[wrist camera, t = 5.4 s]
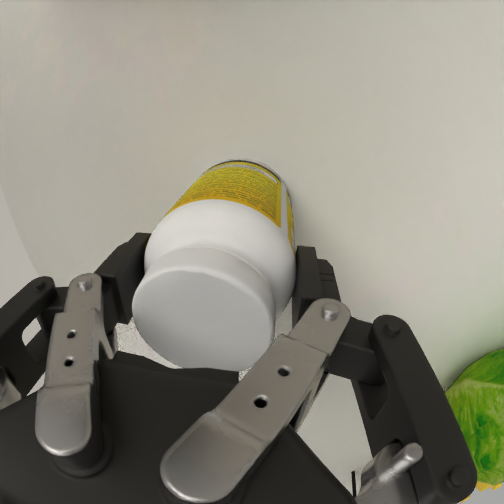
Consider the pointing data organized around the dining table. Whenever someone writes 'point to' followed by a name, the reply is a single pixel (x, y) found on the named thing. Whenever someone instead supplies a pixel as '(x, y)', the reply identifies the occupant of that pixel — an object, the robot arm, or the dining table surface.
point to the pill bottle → (219, 269)
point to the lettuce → (482, 414)
